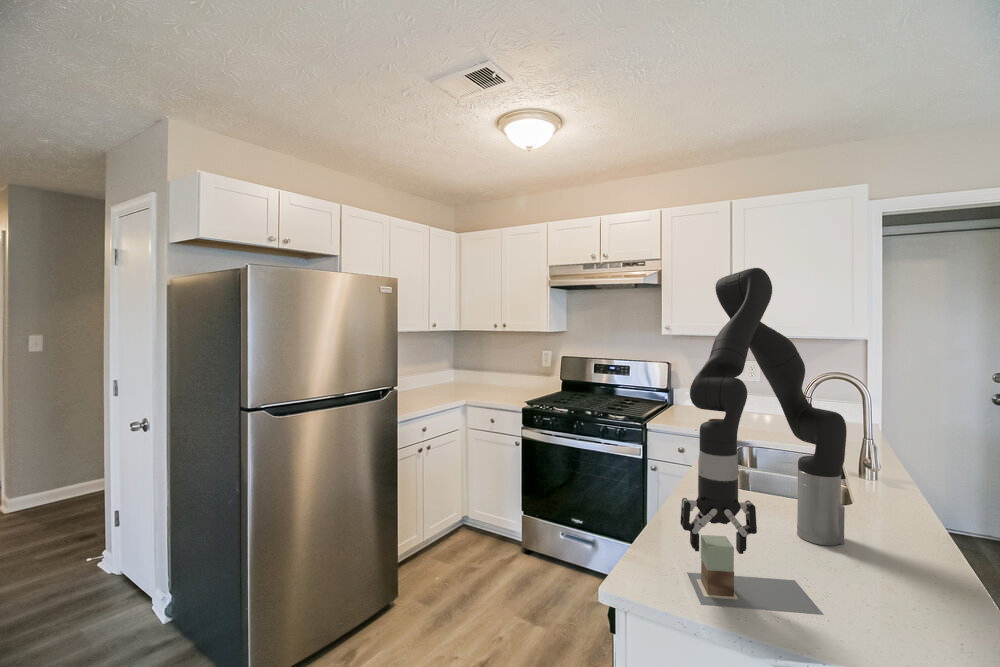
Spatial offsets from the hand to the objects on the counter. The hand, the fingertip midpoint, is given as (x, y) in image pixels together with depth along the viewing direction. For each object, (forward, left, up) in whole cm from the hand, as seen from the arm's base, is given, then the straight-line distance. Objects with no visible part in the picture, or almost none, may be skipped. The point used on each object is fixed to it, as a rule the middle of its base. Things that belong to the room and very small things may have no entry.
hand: (717, 550), depth 98 cm
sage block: (0, 0, -3) cm, 3 cm away
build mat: (-6, 0, -9) cm, 11 cm away
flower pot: (-37, -126, -9) cm, 132 cm away
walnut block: (0, 0, -8) cm, 8 cm away
